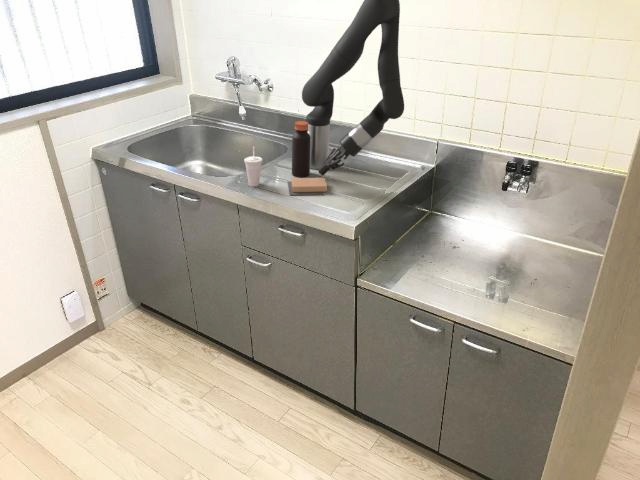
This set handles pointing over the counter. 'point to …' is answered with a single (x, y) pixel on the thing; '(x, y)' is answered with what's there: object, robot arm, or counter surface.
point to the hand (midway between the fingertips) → (320, 173)
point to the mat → (302, 192)
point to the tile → (308, 185)
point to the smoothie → (253, 169)
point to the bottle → (301, 150)
